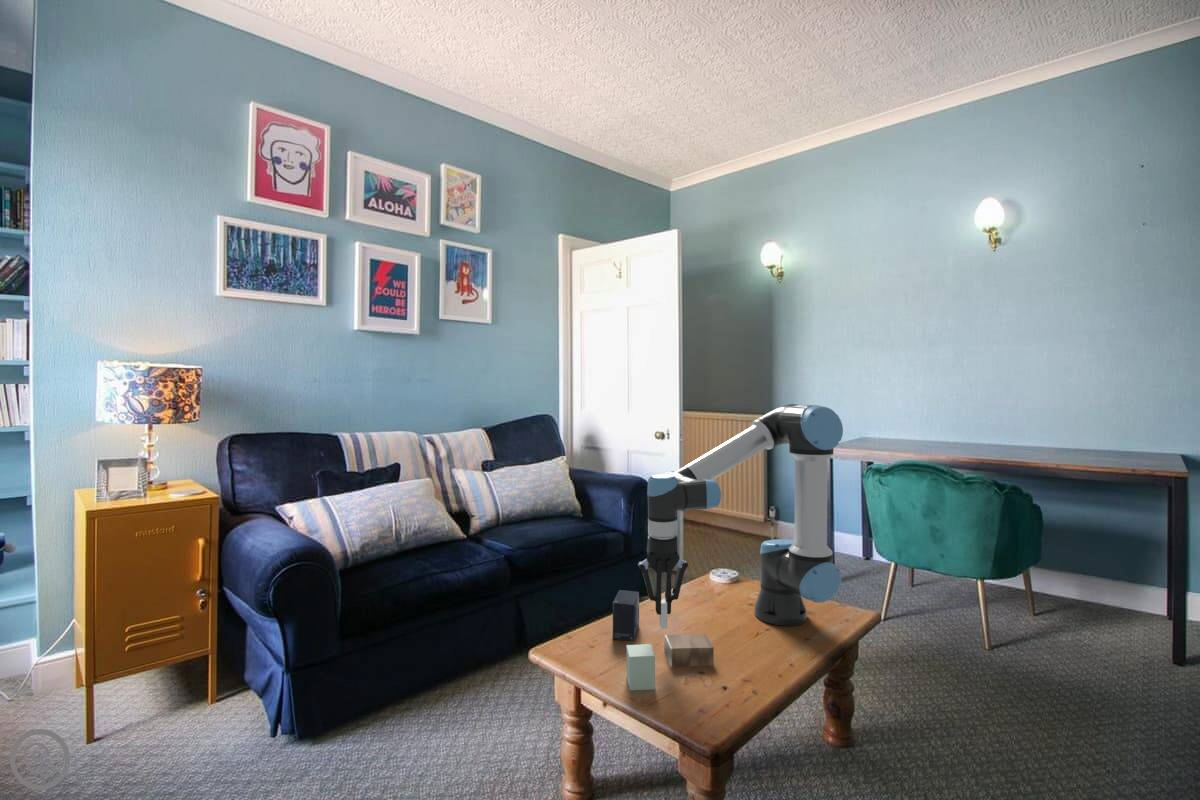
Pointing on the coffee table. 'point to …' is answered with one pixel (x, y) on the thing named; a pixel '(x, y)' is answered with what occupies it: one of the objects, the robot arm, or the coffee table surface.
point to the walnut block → (688, 650)
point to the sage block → (640, 667)
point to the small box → (625, 615)
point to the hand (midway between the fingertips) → (663, 626)
